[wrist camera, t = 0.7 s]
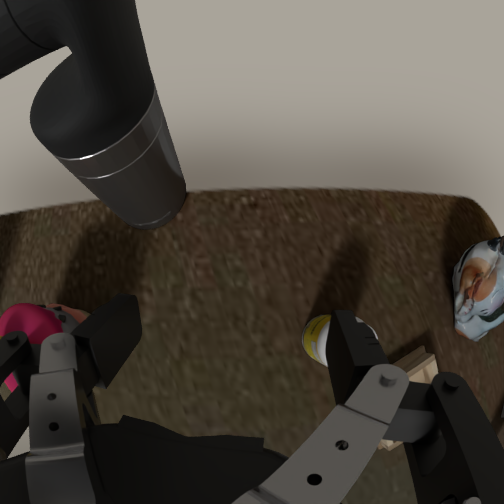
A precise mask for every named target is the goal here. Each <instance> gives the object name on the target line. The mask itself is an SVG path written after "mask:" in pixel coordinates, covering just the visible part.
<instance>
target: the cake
mask: <svg viewBox="0 0 504 504" xmlns="http://www.w3.org/2000/svg"><path fill="white" fill-rule="evenodd" d="M89 315H91V314H90V313H88V312H86V311H84V310H80V309H72V308H69V307H67V306H64V305H61V304H53V303H51V304H49V305H47V306H45V305H34V304H30V303H19V304H15V305H13V306H11V307H10V308H8V309H7V310H6V311H5V312H4V313H3V315H2V316H1V318H0V339H1V338H2V337H3V336H4V335H6V334H7V333H10V332H13V331H23V332H25V333H26V334H27V336H28V339H29V342H30V344H42V342H43V341H44V340H45V339H46V338H47V337H48V336H50V335H53V334H56V333H68V334H70V333H71V332H72V331H73V330H74V329H75V328H76V327H77V326H78V325H79V324H80V323H81V322H83V321H84V320H86V318H87V317H88V316H89ZM4 382H5V383H6V385H7V386H8V388H9V389H10V391H11V392H13V391H14V389H15V388H16V387H17V386H18V384H17V382H16V380H15V378H14V376H13V374H12V373H11V374H10V375H9V376H8V377H7V378H6V380H5V381H4Z"/></svg>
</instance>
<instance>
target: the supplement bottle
mask: <svg viewBox="0 0 504 504" xmlns="http://www.w3.org/2000/svg"><path fill="white" fill-rule="evenodd" d="M355 318H356V320H357V322H363V321H362V320H361V319H359V318H357V317H355ZM330 319H331V315H320V316H317V317H315V318H313V319H312V320H311V321H310V322H309V323H308V324H307V325H306V327H305V329H304V331H303V335H302V343H303V347H304V349H305V351H306V353H307V354H308V355H309V356H310V357H311V358H313V359H315V360H316V361H318V362H320V363H322V364H323V365H325V366H327V367H328V365H327V361H326V355H325V347H326V340H327V335H328V330H329V324H330ZM369 327H370V326H369ZM370 328H371V327H370ZM371 329H372V328H371ZM372 330H373V329H372ZM373 332H374V334H375V336H376V338H377V340H378V337H377V335H376V333H375V331H374V330H373Z"/></svg>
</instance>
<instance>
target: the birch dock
mask: <svg viewBox="0 0 504 504" xmlns="http://www.w3.org/2000/svg"><path fill="white" fill-rule="evenodd" d="M392 365H394V366H397V367H399V368H401V369H402V370H404V371H405V372H406V373H407V375H408V377H409V381H413V382H420V383H428V384H431V382H432V380H433V378H434V376H435V375H436V374H438V369H437V364H436V360H435V355H434V354H430V353H426V351H425V347H424V346H420V347H419V348H417V349H416V350H414V351H413V352H411V353H409V354H408V355H406V356H405V357H403V358H402V359H400V360H398V361H397V362H395V363H393V364H392ZM401 443H403V442H400V441H391V440H383V439H382V440H381V441H380V443H379V445H378V447H377V448H378V449H379V450H380V449H382V448H383V447H385V448H386V449H387V450H389V451H390V450H392V449H393V448H395V447H396V446H398V445H400V444H401Z"/></svg>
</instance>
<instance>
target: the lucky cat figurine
mask: <svg viewBox="0 0 504 504" xmlns="http://www.w3.org/2000/svg"><path fill="white" fill-rule="evenodd" d="M452 282H453V289H454V313H455V330H456V332H457V333H458V334H460V335H462V336H464V337H465V338H467V339H473V341H478V340H479V339H480V338H481V337H483V336H484V335H486V334H487V333H488V331H489V330H490V329H493V328H495V327H497V325H499V324H500V323H501V322H502V321H503V320H504V236H502V237H498V238H494V239H492V240H487V241H483V242H480V243H476V244H474V245H472V246H471V247H470V248H468V249H467V250H466V251H465V252H464V254H463V256H462V257H461V259H460V261H459V262H458V263H457V264H456V265H455V267H454V274H453V277H452Z"/></svg>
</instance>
